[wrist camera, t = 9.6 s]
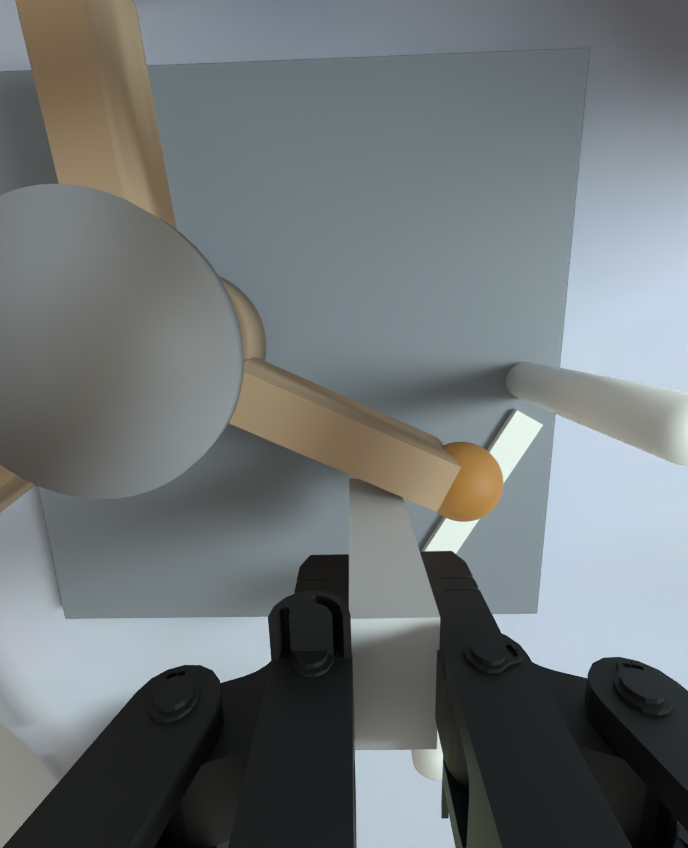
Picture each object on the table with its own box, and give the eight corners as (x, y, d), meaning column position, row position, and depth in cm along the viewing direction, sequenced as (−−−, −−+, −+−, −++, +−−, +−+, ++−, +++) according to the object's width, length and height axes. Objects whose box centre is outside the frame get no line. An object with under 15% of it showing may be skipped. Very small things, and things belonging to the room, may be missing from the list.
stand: (-22, 90, 15) (-572, -261, 6) (573, 67, 14) (929, -350, 5) (79, 604, 19) (-143, 830, 11) (527, 598, 19) (678, 830, 10)
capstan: (11, 479, 16) (-218, 581, 10) (131, 35, 13) (-98, -269, 6) (376, 624, 18) (391, 801, 11) (575, 255, 14) (770, 193, 8)
